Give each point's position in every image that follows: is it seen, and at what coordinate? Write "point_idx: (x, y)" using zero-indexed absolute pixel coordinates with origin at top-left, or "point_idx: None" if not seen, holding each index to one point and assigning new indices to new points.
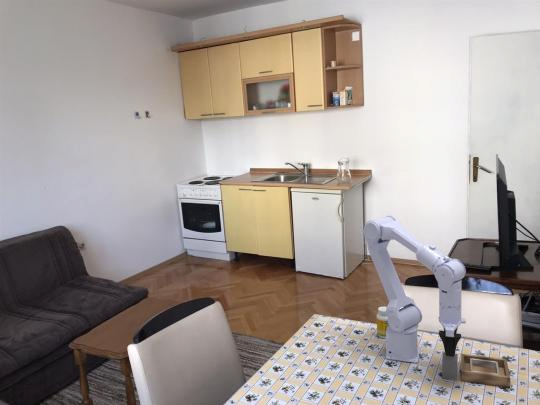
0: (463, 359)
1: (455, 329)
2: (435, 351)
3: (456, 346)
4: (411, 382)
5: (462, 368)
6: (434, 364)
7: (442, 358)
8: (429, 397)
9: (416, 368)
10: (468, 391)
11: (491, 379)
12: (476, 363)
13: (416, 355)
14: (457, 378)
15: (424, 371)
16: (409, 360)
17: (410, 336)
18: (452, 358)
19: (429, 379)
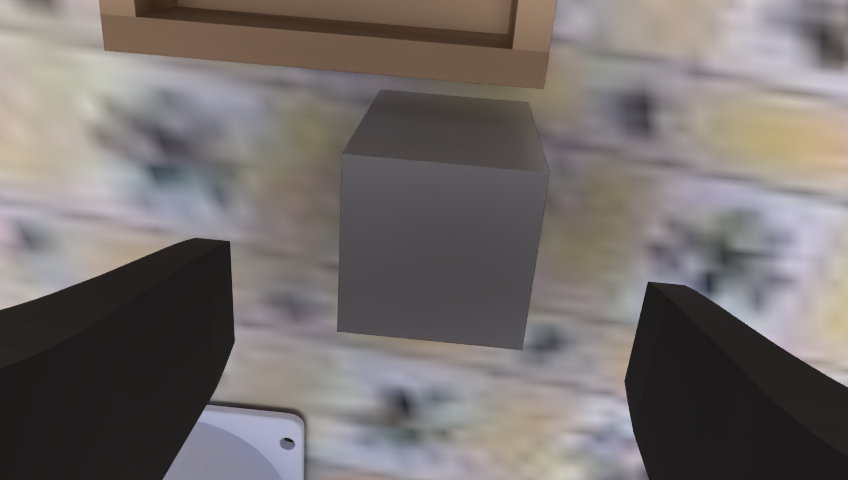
0: (248, 35)
1: (82, 369)
2: (25, 261)
3: (833, 380)
4: (609, 462)
5: (475, 70)
6: (274, 284)
7: (511, 347)
8: (827, 353)
9: (384, 421)
10: (721, 11)
11: None
12: None
13: (212, 437)
14: (529, 108)
15: (418, 368)
16: (295, 477)
17: None
18: (488, 232)
19: (543, 338)
